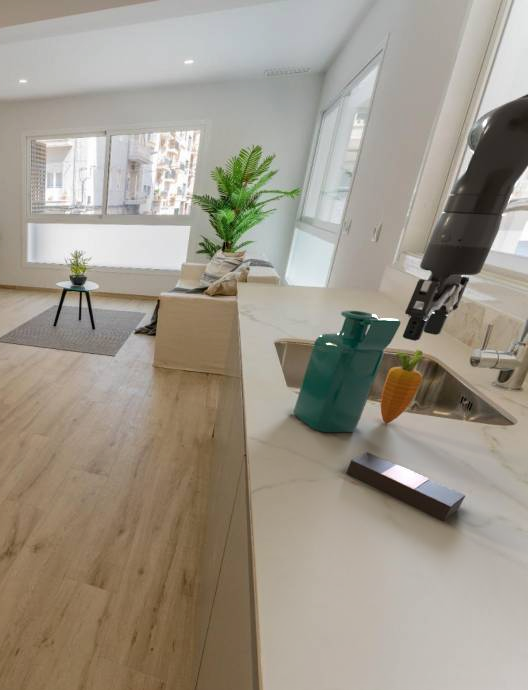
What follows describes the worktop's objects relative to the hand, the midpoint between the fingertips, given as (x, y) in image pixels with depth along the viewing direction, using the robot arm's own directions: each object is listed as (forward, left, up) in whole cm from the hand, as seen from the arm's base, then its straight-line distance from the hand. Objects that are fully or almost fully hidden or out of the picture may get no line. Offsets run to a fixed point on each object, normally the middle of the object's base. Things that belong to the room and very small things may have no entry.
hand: (421, 336), depth 76 cm
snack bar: (+23, +11, -18) cm, 31 cm away
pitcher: (+11, -5, -18) cm, 22 cm away
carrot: (0, 0, -18) cm, 18 cm away
